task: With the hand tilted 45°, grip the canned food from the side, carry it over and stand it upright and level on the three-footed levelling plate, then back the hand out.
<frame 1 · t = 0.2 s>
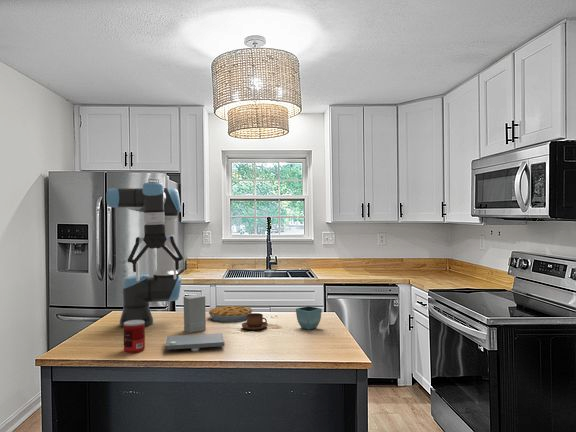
hand: (156, 279, 178), 28 cm above the countertop, tool pointing down, fingers open, 13 cm apart
skincare box: (194, 331, 212), on the countertop
levelling plate: (195, 346, 186), on the countertop
flower pot: (308, 328, 215), on the countertop
cup and saucer: (254, 328, 216), on the countertop
pie: (230, 318, 238), on the countertop
canned food: (134, 351, 182), on the countertop
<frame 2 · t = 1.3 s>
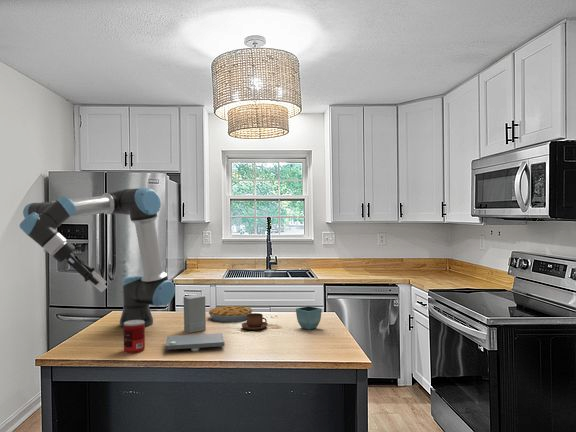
hand: (104, 287, 177), 25 cm above the countertop, tool tilted 45°, fingers open, 13 cm apart
nothing on the countertop moved.
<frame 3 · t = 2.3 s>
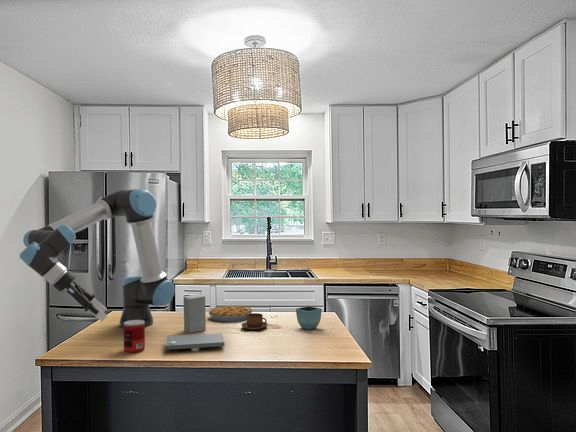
hand: (104, 315, 177), 15 cm above the countertop, tool tilted 45°, fingers open, 13 cm apart
nothing on the countertop moved.
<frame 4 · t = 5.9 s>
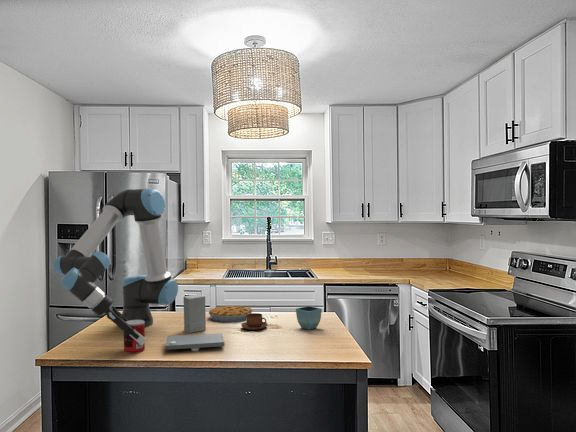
hand: (143, 340, 183), 4 cm above the countertop, tool tilted 45°, fingers closed on canned food, 8 cm apart
canned food: (134, 350, 182), on the countertop, touching gripper
everything else where it was.
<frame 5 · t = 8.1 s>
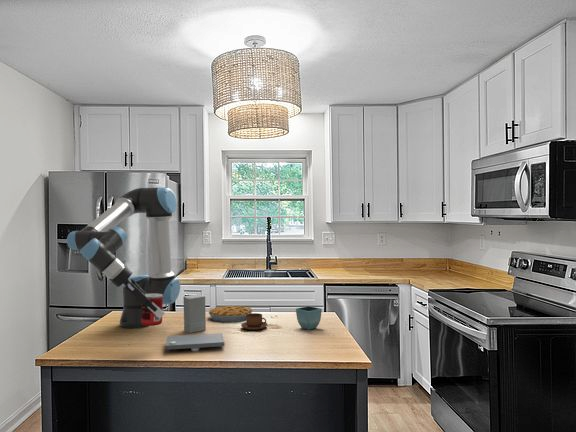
hand: (161, 313, 182), 14 cm above the countertop, tool tilted 45°, fingers closed on canned food, 8 cm apart
canned food: (151, 324, 181), point 10 cm above the countertop, touching gripper
everything else where it was.
when the fingers open (8 cm above the countertop, at t = 10.6 s): canned food drops 1 cm, resting on levelling plate.
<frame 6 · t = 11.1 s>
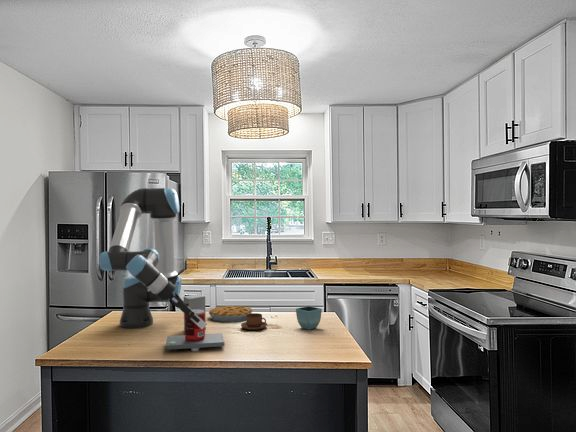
hand: (201, 322, 187), 9 cm above the countertop, tool tilted 45°, fingers open, 13 cm apart
canned food: (194, 339, 186), point 3 cm above the countertop, touching levelling plate
everything else where it was.
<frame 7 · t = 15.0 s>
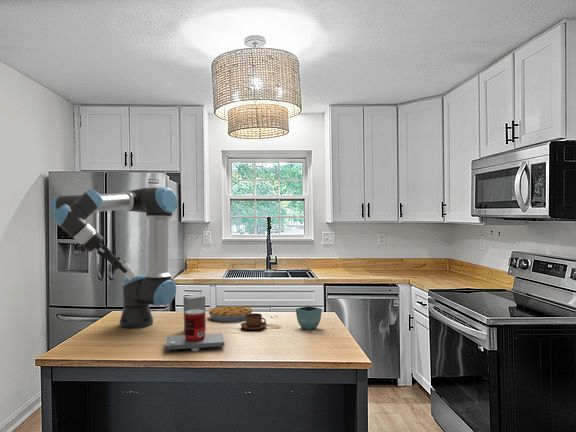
hand: (130, 275, 186), 28 cm above the countertop, tool tilted 45°, fingers open, 13 cm apart
nothing on the countertop moved.
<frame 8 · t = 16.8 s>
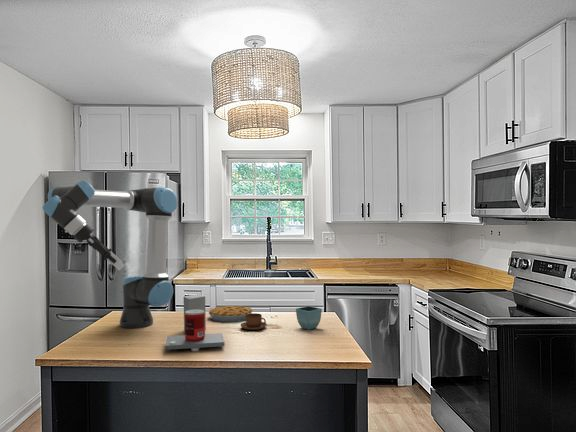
hand: (121, 266, 188), 32 cm above the countertop, tool tilted 45°, fingers open, 13 cm apart
nothing on the countertop moved.
at the end: canned food inside the target area on the levelling plate (0.1 cm from its centre), point 2.8 cm above the levelling plate's base; canned food tilted 0°; the gripper is holding nothing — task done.
